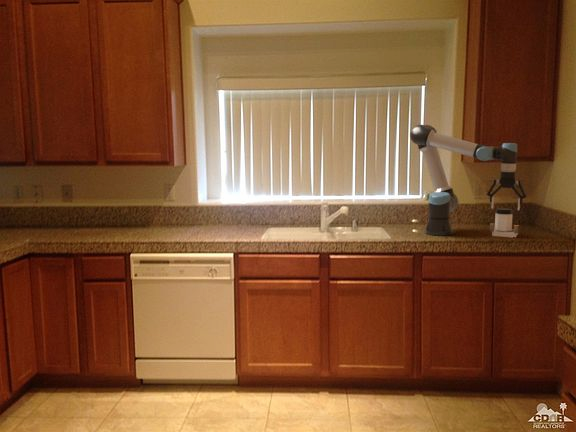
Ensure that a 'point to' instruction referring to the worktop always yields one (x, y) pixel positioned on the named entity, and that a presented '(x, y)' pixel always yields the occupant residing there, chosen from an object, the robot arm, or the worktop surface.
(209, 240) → the worktop surface
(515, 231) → the cradle board
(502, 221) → the jar
